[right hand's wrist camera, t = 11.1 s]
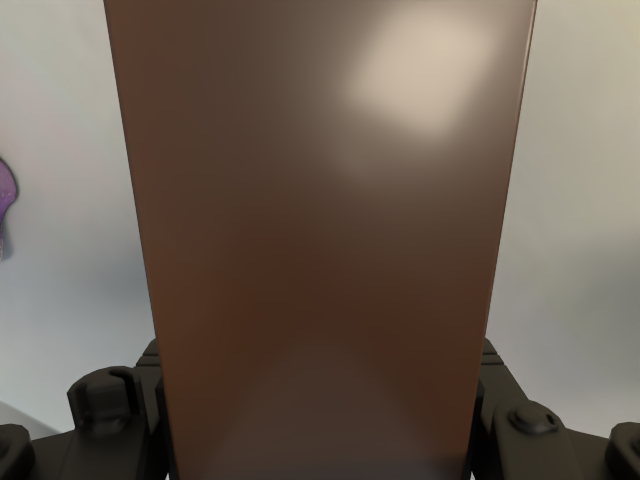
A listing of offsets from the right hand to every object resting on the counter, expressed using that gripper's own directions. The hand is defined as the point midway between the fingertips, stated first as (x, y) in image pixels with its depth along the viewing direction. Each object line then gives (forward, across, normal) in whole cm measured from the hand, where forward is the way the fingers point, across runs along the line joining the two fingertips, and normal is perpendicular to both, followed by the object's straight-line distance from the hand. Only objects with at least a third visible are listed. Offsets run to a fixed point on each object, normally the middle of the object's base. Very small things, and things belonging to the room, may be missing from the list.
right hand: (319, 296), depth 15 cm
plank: (0, 0, -13) cm, 13 cm away
